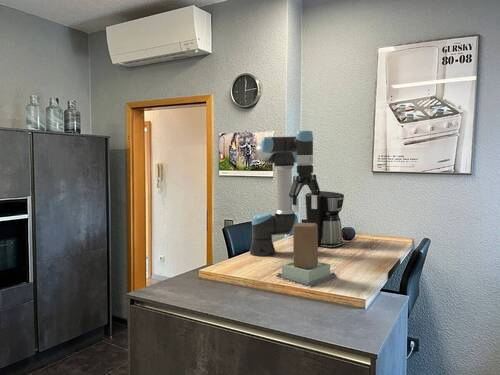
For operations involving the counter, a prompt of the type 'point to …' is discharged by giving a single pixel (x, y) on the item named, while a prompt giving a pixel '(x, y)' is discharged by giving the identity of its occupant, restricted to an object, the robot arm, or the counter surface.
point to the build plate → (306, 274)
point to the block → (305, 245)
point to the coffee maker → (326, 217)
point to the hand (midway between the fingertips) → (305, 210)
